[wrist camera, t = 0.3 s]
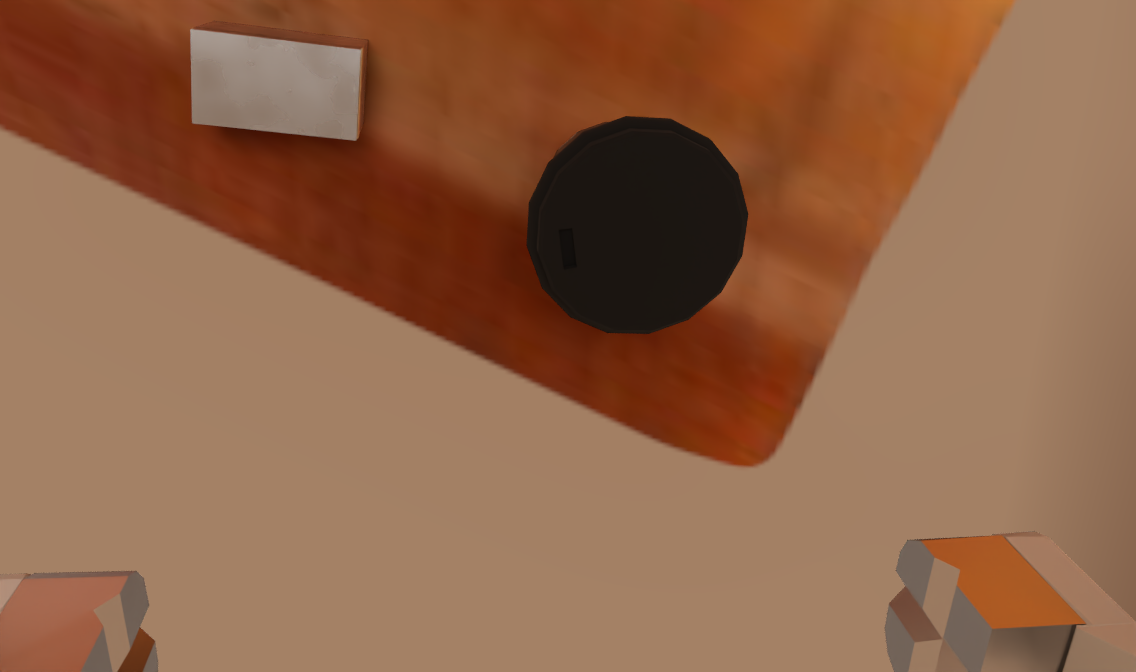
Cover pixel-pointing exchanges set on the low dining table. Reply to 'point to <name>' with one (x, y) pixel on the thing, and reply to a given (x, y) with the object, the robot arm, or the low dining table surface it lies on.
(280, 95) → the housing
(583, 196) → the coffee cup
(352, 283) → the low dining table surface
